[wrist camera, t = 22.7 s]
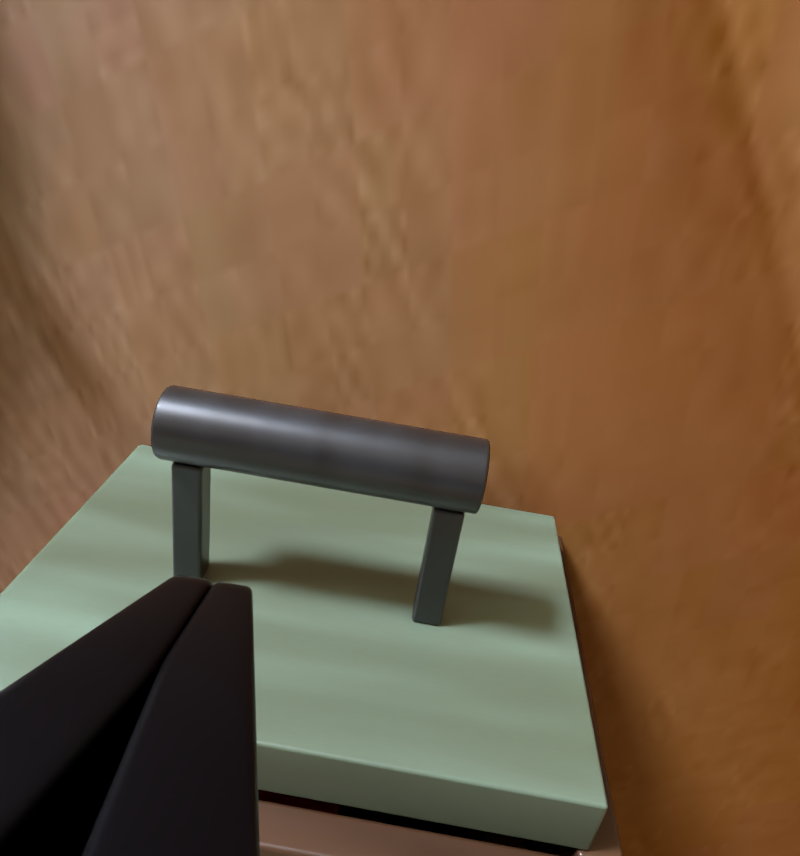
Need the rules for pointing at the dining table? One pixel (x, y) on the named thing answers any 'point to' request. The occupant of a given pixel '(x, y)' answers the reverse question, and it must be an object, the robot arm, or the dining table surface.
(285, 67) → the dining table surface
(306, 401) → the dining table surface
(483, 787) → the drawer
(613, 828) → the cabinet
